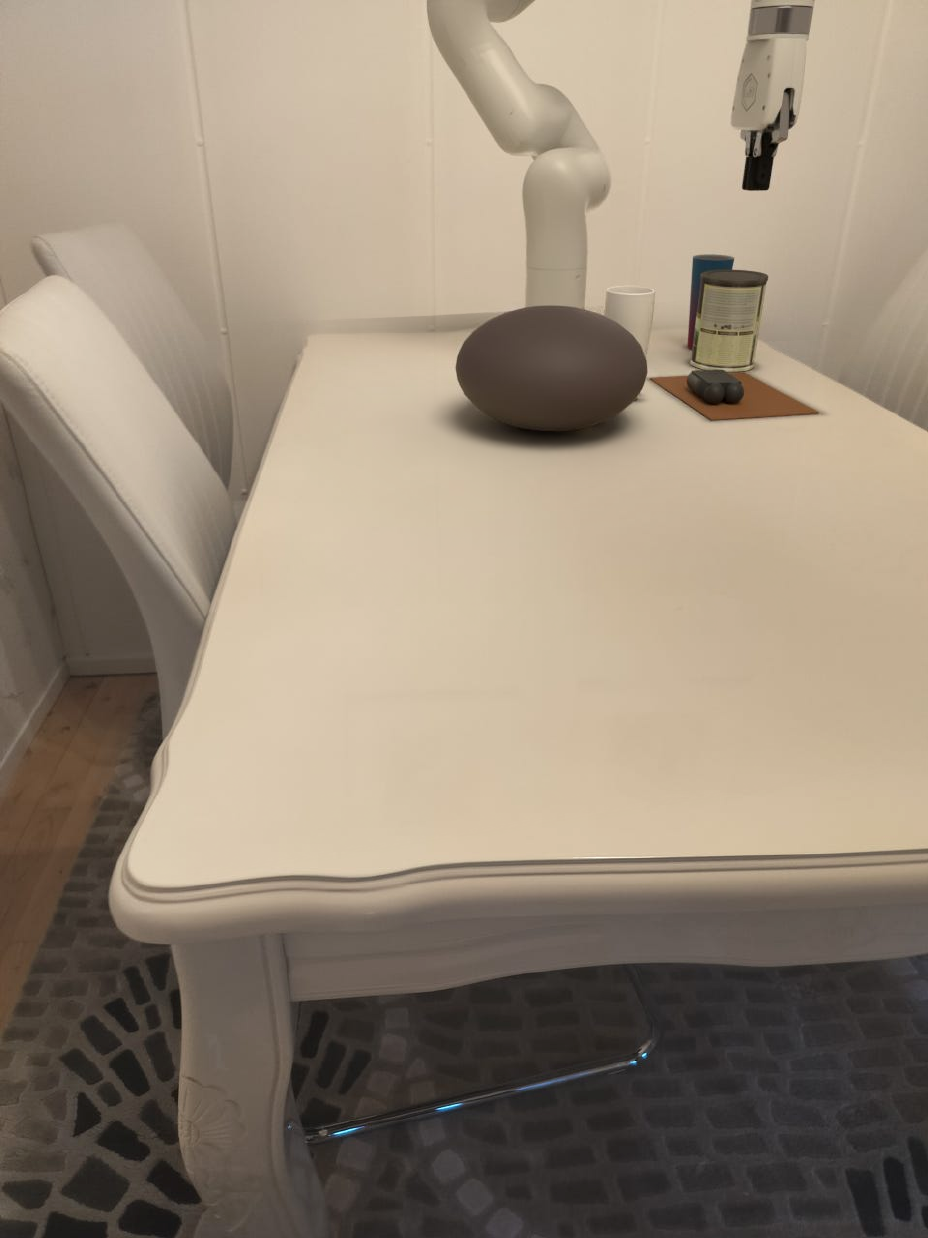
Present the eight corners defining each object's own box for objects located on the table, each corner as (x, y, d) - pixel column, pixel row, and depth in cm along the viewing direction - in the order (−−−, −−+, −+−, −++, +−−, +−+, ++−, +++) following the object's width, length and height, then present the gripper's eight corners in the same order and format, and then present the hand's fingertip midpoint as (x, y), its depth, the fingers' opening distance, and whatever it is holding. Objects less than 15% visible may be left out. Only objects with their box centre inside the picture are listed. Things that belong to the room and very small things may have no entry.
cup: (722, 353, 153) (735, 260, 146) (682, 351, 154) (693, 259, 147) (720, 344, 159) (733, 254, 152) (682, 342, 160) (692, 253, 153)
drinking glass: (648, 393, 131) (659, 286, 124) (640, 406, 126) (651, 295, 118) (602, 389, 133) (611, 284, 126) (593, 401, 128) (601, 292, 120)
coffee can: (678, 359, 149) (688, 270, 142) (733, 355, 152) (745, 267, 145) (709, 374, 141) (722, 280, 134) (766, 370, 143) (781, 277, 136)
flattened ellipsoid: (602, 393, 131) (611, 287, 124) (672, 447, 110) (687, 323, 103) (439, 403, 127) (438, 294, 119) (479, 461, 106) (480, 333, 98)
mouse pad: (710, 420, 120) (711, 419, 120) (649, 378, 138) (649, 377, 138) (818, 413, 122) (819, 411, 122) (744, 373, 141) (744, 372, 141)
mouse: (706, 407, 124) (709, 385, 123) (682, 388, 133) (685, 368, 132) (745, 405, 125) (749, 384, 124) (719, 386, 134) (722, 366, 132)
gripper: (724, 31, 116) (705, 186, 125) (781, 21, 104) (756, 194, 113) (776, 32, 118) (754, 185, 127) (839, 22, 105) (809, 193, 114)
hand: (755, 189), depth 120 cm, fingers closed
